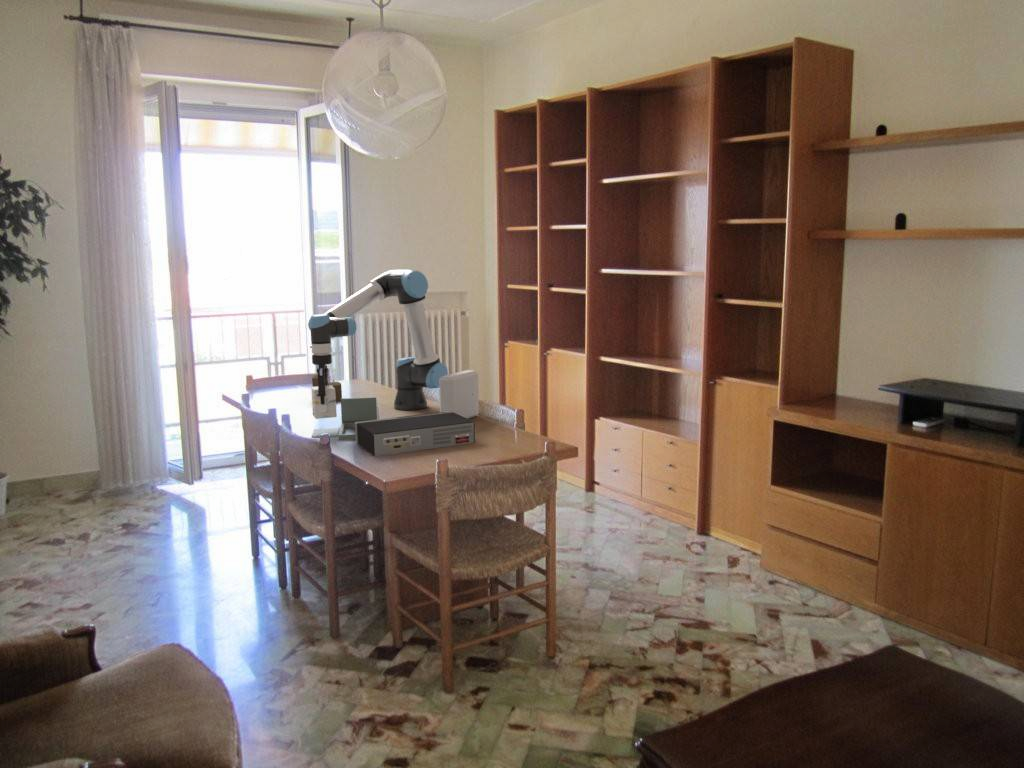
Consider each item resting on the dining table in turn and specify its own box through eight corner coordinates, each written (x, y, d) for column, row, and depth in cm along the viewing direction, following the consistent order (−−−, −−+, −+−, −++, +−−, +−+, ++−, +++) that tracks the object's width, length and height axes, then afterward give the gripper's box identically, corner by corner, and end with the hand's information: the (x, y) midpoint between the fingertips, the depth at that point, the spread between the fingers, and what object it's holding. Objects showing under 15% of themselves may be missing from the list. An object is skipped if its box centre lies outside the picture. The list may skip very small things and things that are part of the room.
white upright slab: (464, 414, 367) (463, 369, 364) (480, 415, 363) (479, 370, 360) (436, 423, 350) (435, 376, 346) (452, 425, 346) (451, 377, 342)
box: (373, 457, 298) (372, 433, 297) (353, 442, 320) (352, 420, 319) (475, 443, 316) (474, 421, 315) (449, 430, 338) (449, 409, 337)
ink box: (312, 414, 335) (310, 386, 333) (333, 413, 338) (332, 384, 336) (315, 419, 327) (313, 389, 325) (336, 417, 330) (335, 388, 328)
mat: (339, 429, 340) (339, 428, 340) (337, 436, 329) (337, 434, 328) (314, 430, 339) (314, 429, 339) (311, 437, 327) (311, 436, 327)
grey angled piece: (380, 425, 347) (378, 397, 345) (378, 438, 324) (377, 408, 322) (342, 426, 345) (340, 398, 343) (338, 440, 322) (336, 410, 320)
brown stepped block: (305, 403, 396) (304, 372, 393) (320, 398, 409) (318, 367, 406) (331, 404, 392) (330, 373, 390) (345, 399, 405) (343, 368, 402)
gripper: (314, 350, 338) (317, 404, 342) (309, 358, 317) (312, 415, 321) (333, 350, 339) (335, 404, 343) (329, 357, 318) (331, 415, 322)
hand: (324, 409), depth 332 cm, fingers closed on ink box, 9 cm apart
